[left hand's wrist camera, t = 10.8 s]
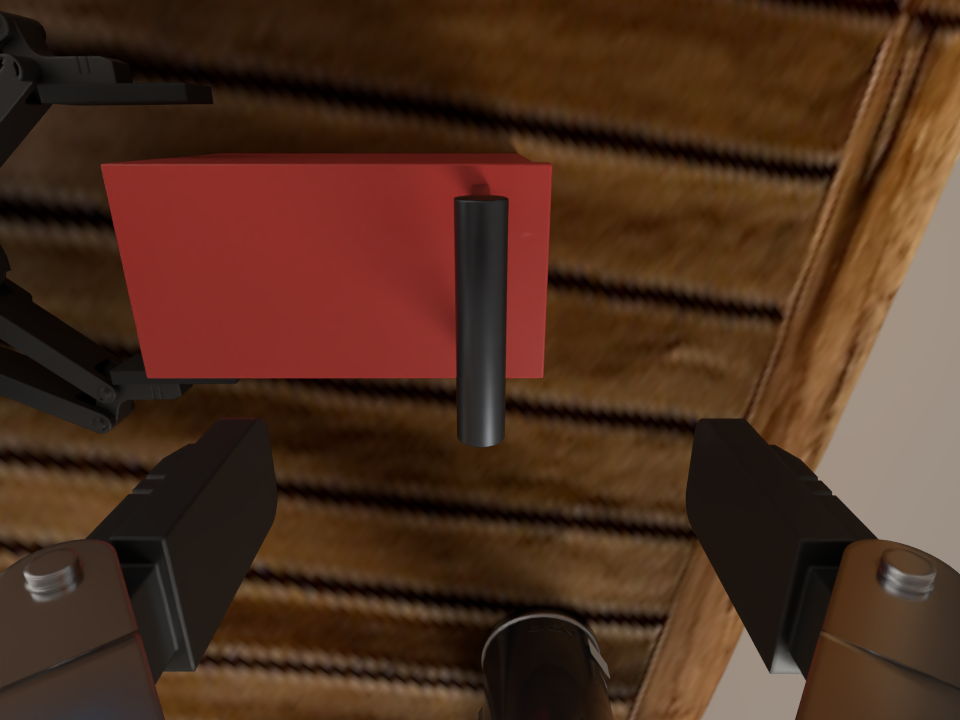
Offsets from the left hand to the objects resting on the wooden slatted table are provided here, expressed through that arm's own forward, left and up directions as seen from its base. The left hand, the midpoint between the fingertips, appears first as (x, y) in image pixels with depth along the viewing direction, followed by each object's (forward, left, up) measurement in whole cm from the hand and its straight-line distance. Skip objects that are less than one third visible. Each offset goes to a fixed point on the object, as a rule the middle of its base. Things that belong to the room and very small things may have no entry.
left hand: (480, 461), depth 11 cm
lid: (-1, +6, -16) cm, 17 cm away
